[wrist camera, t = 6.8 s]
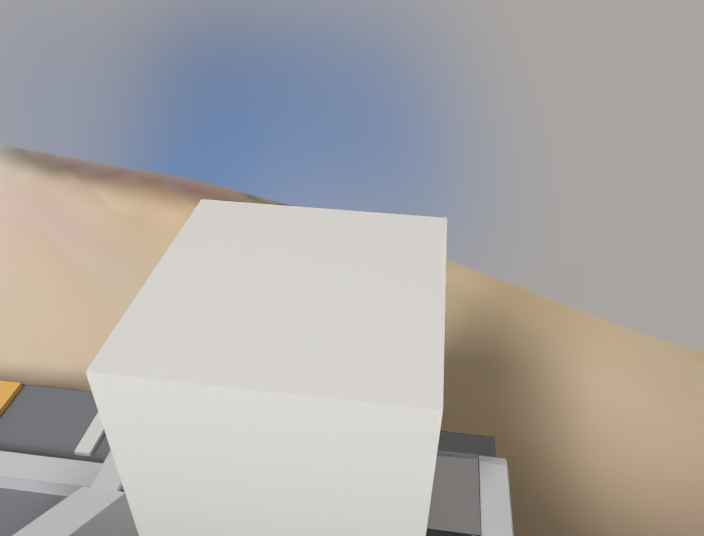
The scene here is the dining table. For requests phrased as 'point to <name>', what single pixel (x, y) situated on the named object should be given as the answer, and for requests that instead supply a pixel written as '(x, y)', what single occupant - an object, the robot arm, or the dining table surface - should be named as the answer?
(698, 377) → the dining table surface
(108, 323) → the dining table surface
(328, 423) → the fader knob
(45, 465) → the console
